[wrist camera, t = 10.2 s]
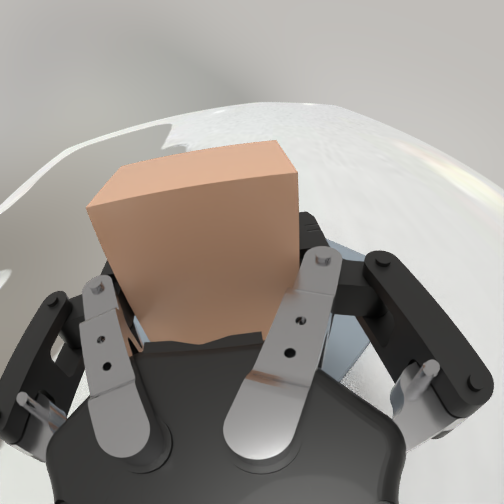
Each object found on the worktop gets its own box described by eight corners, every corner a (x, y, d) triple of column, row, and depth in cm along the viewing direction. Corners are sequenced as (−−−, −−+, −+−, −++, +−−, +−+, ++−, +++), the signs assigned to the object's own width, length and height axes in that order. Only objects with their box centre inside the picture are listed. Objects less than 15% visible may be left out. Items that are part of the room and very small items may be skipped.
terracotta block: (296, 372, 13) (297, 172, 7) (177, 385, 13) (85, 207, 7) (285, 320, 16) (276, 140, 10) (181, 332, 16) (121, 166, 10)
